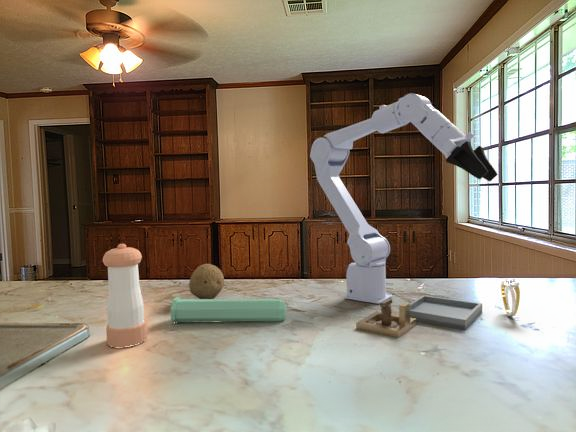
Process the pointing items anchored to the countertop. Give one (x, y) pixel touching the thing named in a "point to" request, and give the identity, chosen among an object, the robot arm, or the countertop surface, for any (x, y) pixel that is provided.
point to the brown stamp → (386, 314)
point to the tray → (445, 311)
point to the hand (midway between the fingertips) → (488, 176)
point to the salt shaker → (124, 298)
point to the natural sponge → (206, 281)
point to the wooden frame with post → (402, 319)
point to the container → (227, 310)
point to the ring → (515, 302)
